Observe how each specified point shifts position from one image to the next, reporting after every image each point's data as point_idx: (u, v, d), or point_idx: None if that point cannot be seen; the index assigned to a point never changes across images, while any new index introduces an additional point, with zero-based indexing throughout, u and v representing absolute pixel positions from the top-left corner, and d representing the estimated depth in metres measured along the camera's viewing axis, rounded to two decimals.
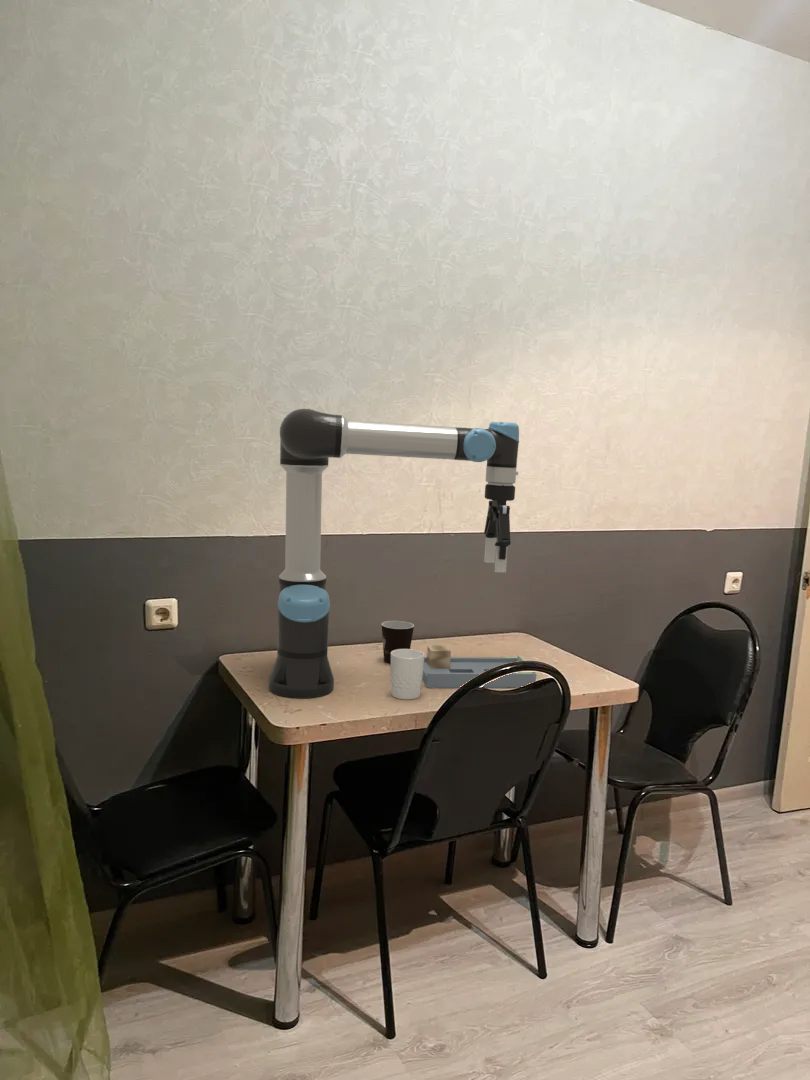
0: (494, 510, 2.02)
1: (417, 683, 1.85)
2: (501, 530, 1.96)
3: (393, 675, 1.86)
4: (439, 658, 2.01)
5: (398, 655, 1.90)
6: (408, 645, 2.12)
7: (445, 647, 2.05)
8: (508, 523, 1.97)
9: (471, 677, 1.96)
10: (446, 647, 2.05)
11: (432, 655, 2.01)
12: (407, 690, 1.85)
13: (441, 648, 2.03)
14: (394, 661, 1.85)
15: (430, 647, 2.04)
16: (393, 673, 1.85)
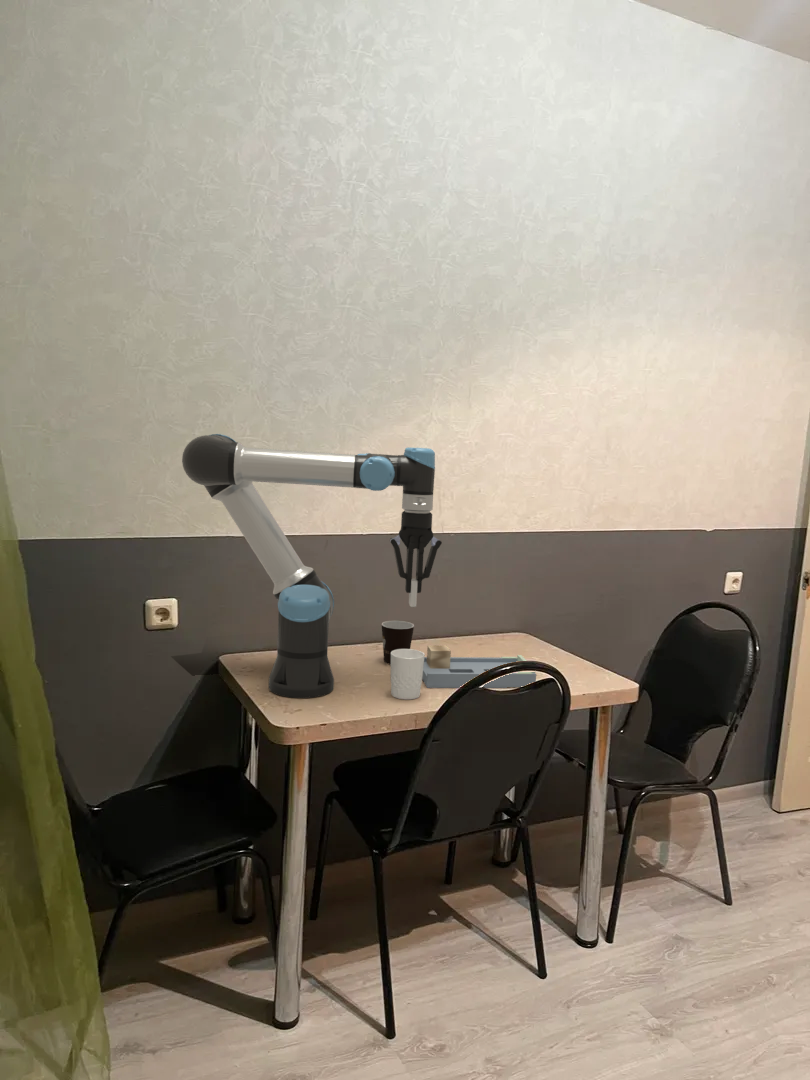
0: None
1: (417, 683, 1.85)
2: None
3: (393, 675, 1.86)
4: (439, 658, 2.01)
5: (398, 655, 1.90)
6: (408, 645, 2.12)
7: (445, 647, 2.05)
8: (396, 557, 1.98)
9: (471, 677, 1.96)
10: (446, 647, 2.05)
11: (432, 655, 2.01)
12: (407, 690, 1.85)
13: (441, 648, 2.03)
14: (394, 661, 1.85)
15: (430, 647, 2.04)
16: (393, 673, 1.85)
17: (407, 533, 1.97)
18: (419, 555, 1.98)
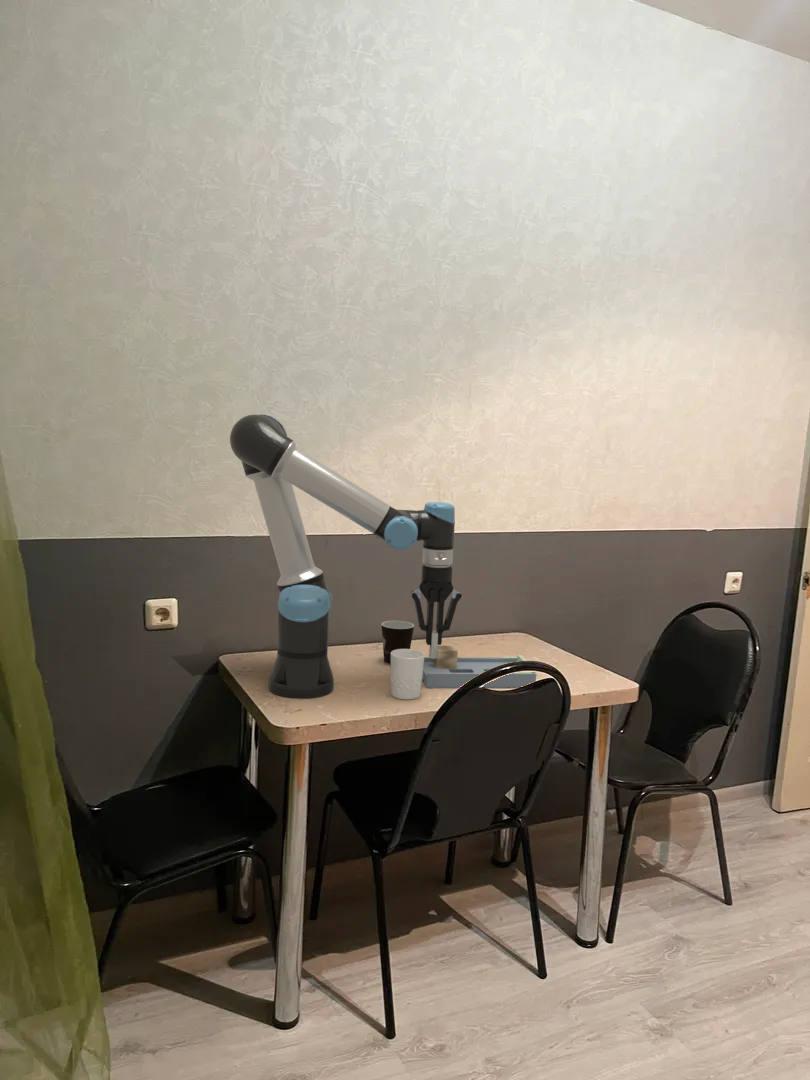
0: None
1: (417, 683, 1.85)
2: (417, 616, 2.02)
3: (393, 675, 1.86)
4: (446, 658, 2.02)
5: (398, 655, 1.90)
6: (408, 645, 2.12)
7: (452, 647, 2.05)
8: (417, 610, 2.00)
9: (471, 677, 1.96)
10: (453, 647, 2.05)
11: (439, 655, 2.01)
12: (407, 690, 1.85)
13: (447, 648, 2.04)
14: (394, 661, 1.85)
15: (437, 647, 2.04)
16: (393, 673, 1.85)
17: (428, 587, 2.00)
18: (439, 608, 2.01)
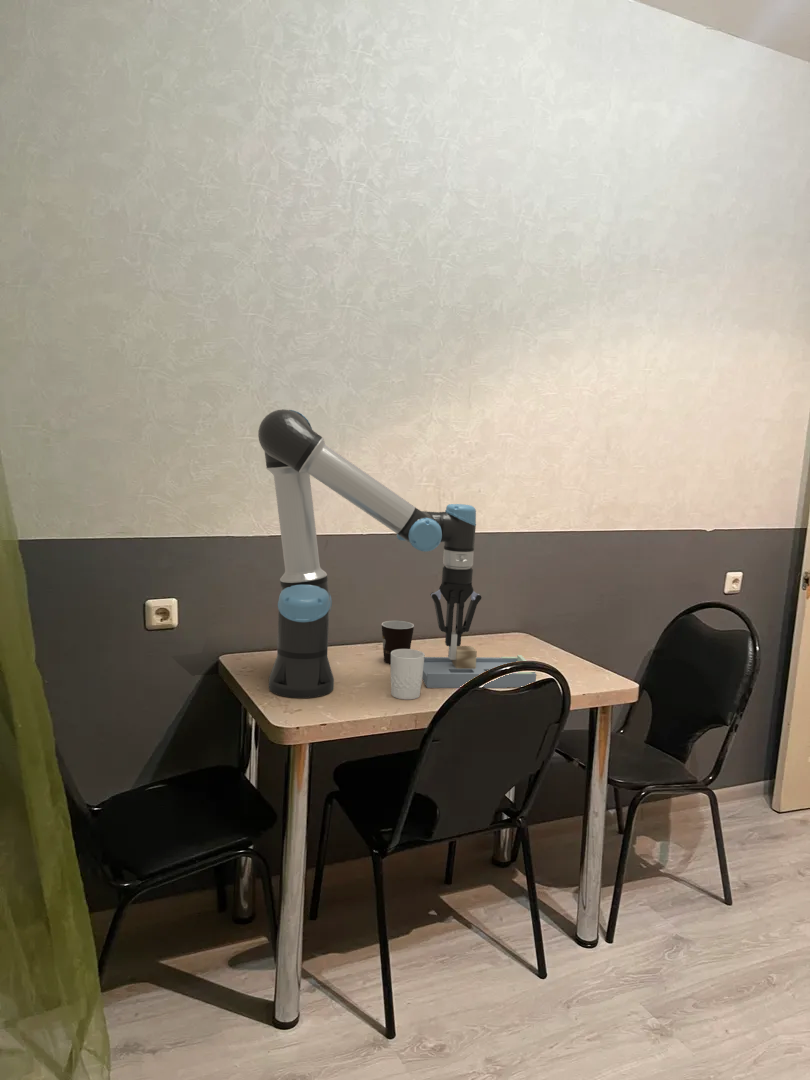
0: None
1: (417, 683, 1.85)
2: (437, 617, 2.03)
3: (393, 675, 1.86)
4: (465, 658, 2.03)
5: (398, 655, 1.90)
6: (408, 645, 2.12)
7: (471, 647, 2.06)
8: (437, 611, 2.01)
9: (471, 677, 1.96)
10: (472, 647, 2.06)
11: (458, 655, 2.02)
12: (407, 690, 1.85)
13: (466, 648, 2.04)
14: (394, 661, 1.85)
15: None
16: (393, 673, 1.85)
17: (448, 588, 2.01)
18: (459, 609, 2.02)
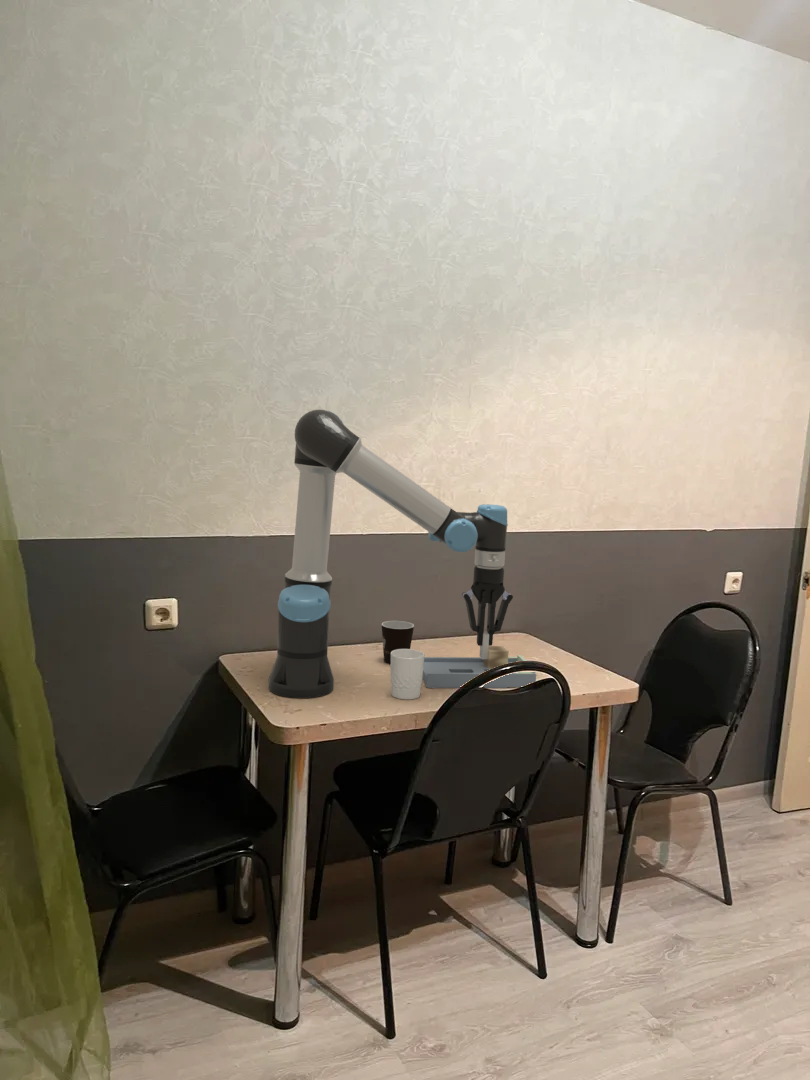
0: None
1: (417, 683, 1.85)
2: (468, 616, 2.05)
3: (393, 675, 1.86)
4: (497, 658, 2.04)
5: (398, 655, 1.90)
6: (408, 645, 2.12)
7: (502, 647, 2.07)
8: (468, 611, 2.02)
9: (471, 677, 1.96)
10: (503, 647, 2.07)
11: (490, 655, 2.03)
12: (407, 690, 1.85)
13: (498, 649, 2.06)
14: (394, 661, 1.85)
15: None
16: (393, 673, 1.85)
17: (480, 588, 2.02)
18: (491, 609, 2.03)
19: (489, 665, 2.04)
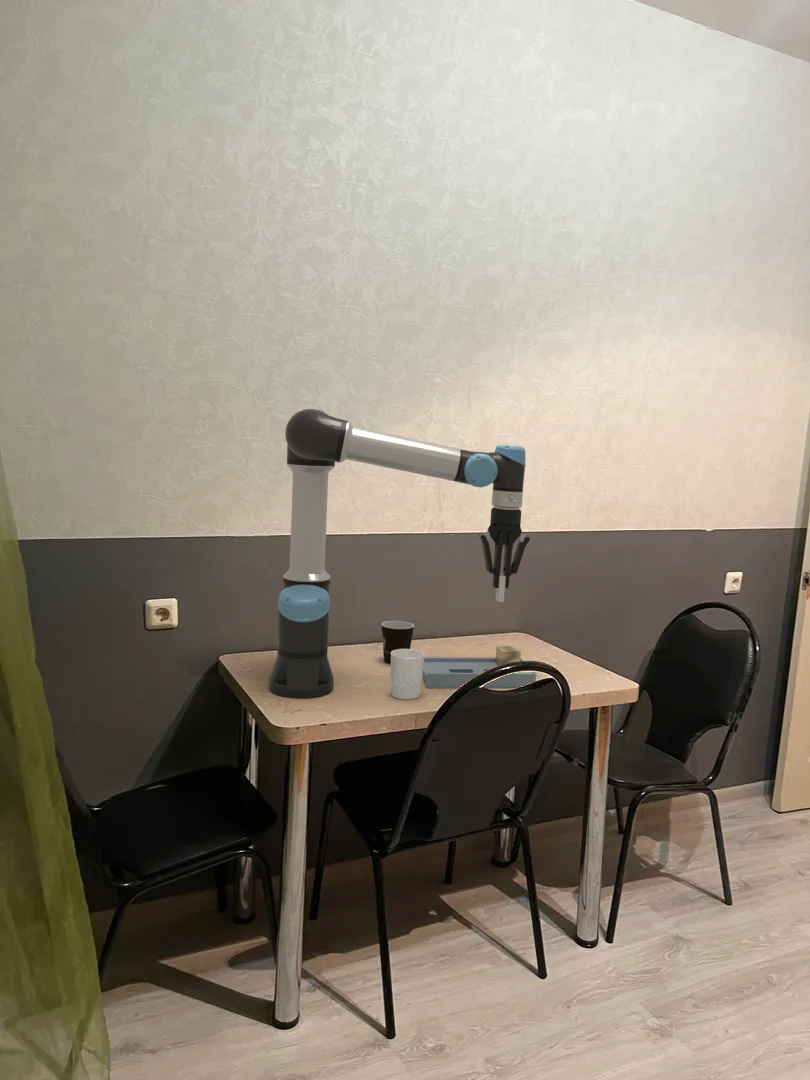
0: None
1: (417, 683, 1.85)
2: (485, 558, 2.03)
3: (393, 675, 1.86)
4: (509, 659, 2.04)
5: (398, 655, 1.90)
6: (408, 645, 2.12)
7: (514, 648, 2.08)
8: (485, 552, 2.01)
9: (471, 677, 1.96)
10: (515, 648, 2.08)
11: (502, 655, 2.04)
12: (407, 690, 1.85)
13: (510, 649, 2.06)
14: (394, 661, 1.85)
15: (499, 648, 2.07)
16: (393, 673, 1.85)
17: (497, 529, 2.00)
18: (508, 551, 2.01)
19: None
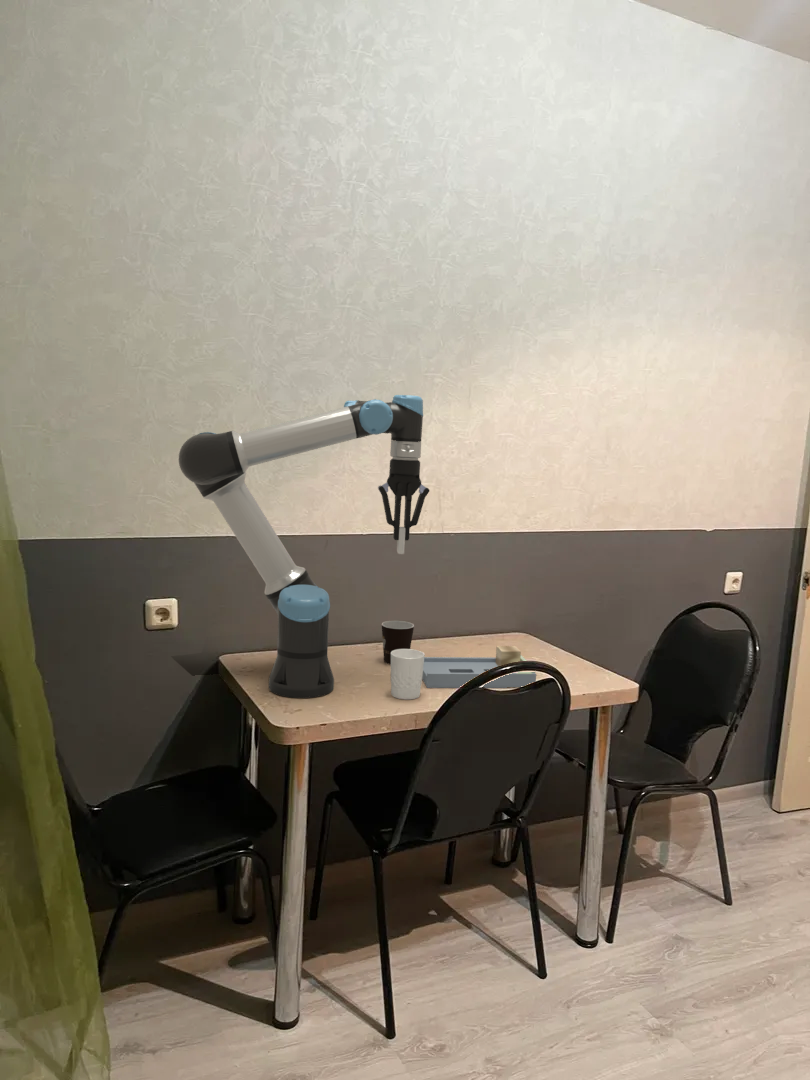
0: None
1: (417, 683, 1.85)
2: None
3: (393, 675, 1.86)
4: (509, 659, 2.04)
5: (398, 655, 1.90)
6: (408, 645, 2.12)
7: (514, 648, 2.08)
8: (384, 504, 1.99)
9: (471, 677, 1.96)
10: (515, 648, 2.08)
11: (502, 655, 2.04)
12: (407, 690, 1.85)
13: (510, 649, 2.06)
14: (394, 661, 1.85)
15: (499, 648, 2.07)
16: (393, 673, 1.85)
17: (395, 480, 1.99)
18: (407, 502, 2.00)
19: None
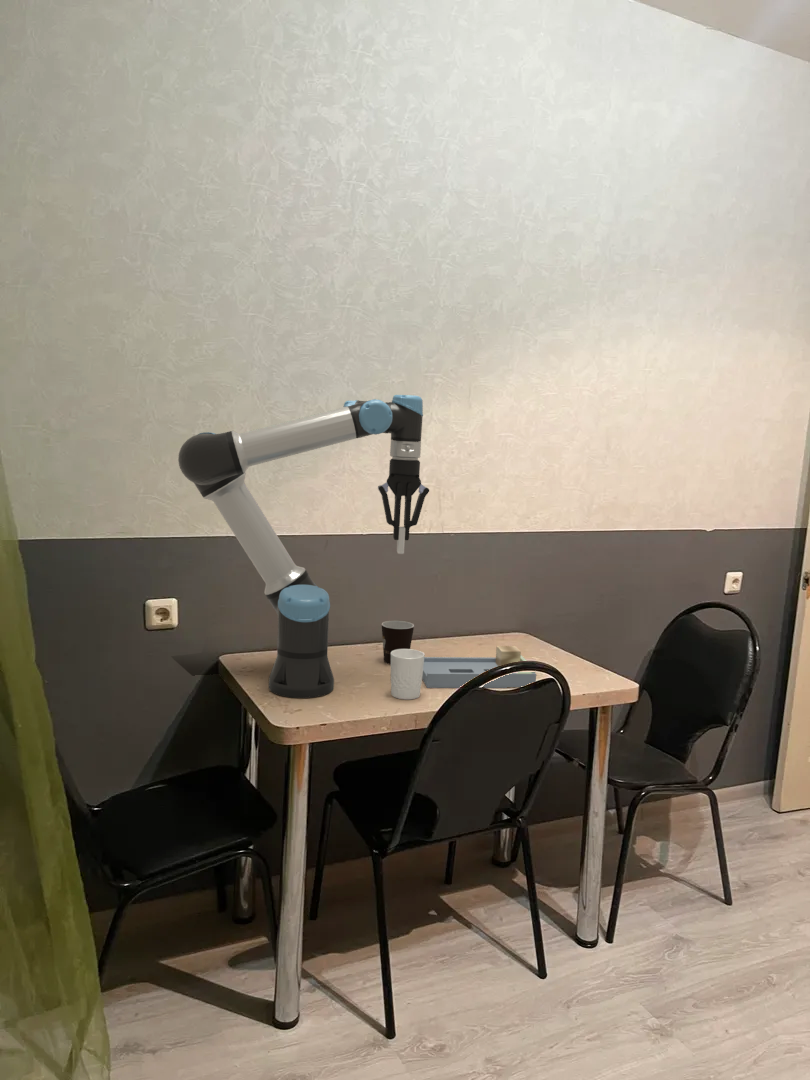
0: None
1: (417, 683, 1.85)
2: None
3: (393, 675, 1.86)
4: (509, 659, 2.04)
5: (398, 655, 1.90)
6: (408, 645, 2.12)
7: (514, 648, 2.08)
8: (384, 504, 1.99)
9: (471, 677, 1.96)
10: (515, 648, 2.08)
11: (502, 655, 2.04)
12: (407, 690, 1.85)
13: (510, 649, 2.06)
14: (394, 661, 1.85)
15: (499, 648, 2.07)
16: (393, 673, 1.85)
17: (395, 480, 1.99)
18: (407, 502, 2.00)
19: None
